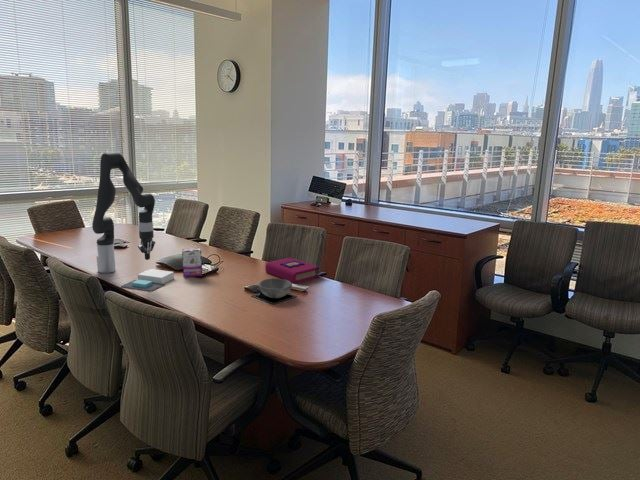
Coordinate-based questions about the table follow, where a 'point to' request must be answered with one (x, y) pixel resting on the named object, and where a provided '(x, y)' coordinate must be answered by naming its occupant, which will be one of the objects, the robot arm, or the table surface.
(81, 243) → the table surface
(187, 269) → the candy bar box
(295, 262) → the book
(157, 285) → the mat
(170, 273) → the block
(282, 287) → the bowl
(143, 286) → the teal flat block
